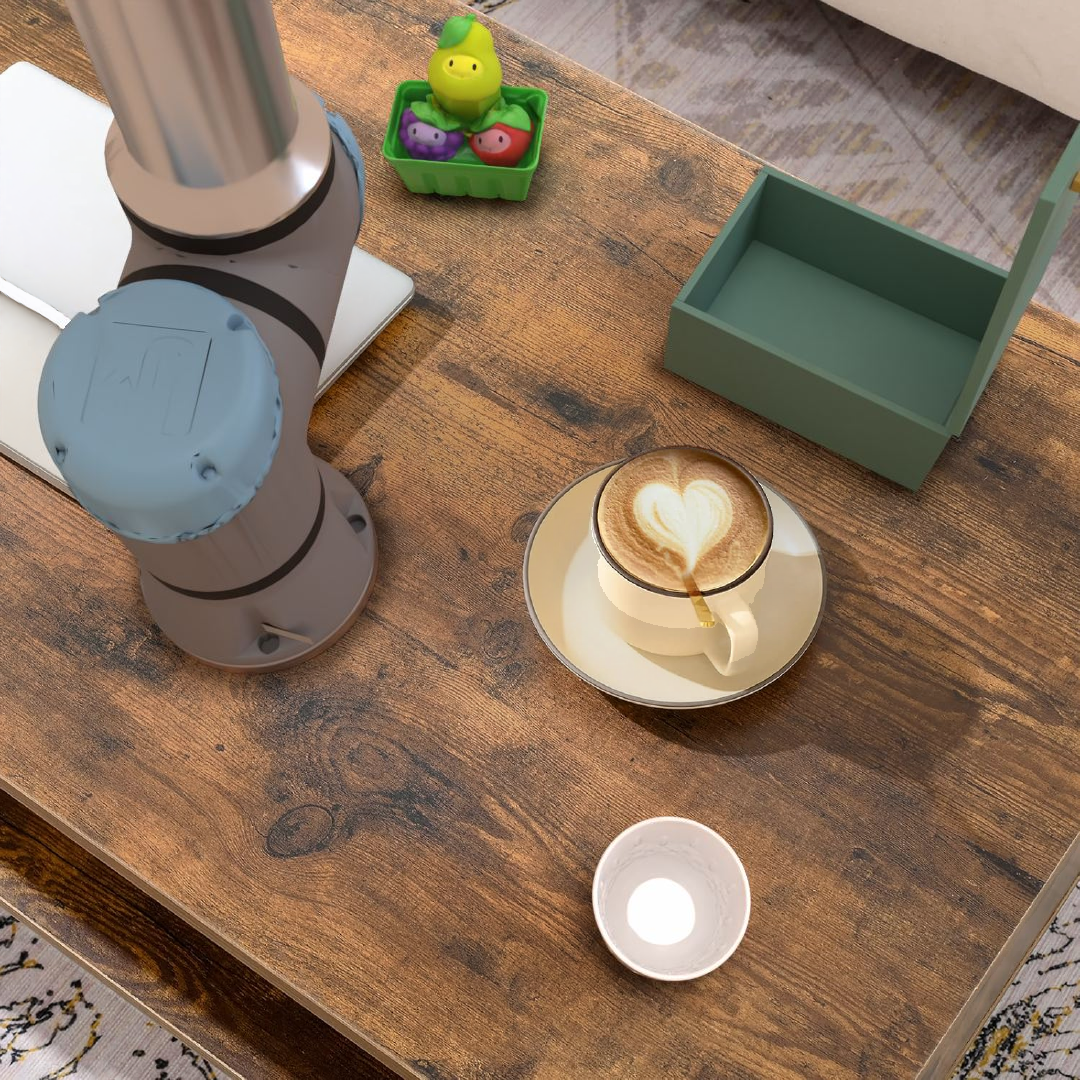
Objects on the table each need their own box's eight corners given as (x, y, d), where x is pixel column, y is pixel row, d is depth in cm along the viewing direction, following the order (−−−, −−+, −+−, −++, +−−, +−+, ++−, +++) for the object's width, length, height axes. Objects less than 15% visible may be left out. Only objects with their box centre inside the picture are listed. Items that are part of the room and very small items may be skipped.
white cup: (562, 902, 67) (560, 881, 58) (667, 818, 69) (680, 785, 60) (649, 1018, 65) (661, 1015, 56) (755, 928, 67) (783, 911, 57)
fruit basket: (389, 205, 88) (364, 93, 77) (409, 115, 91) (388, -4, 81) (538, 217, 87) (533, 106, 77) (553, 126, 90) (550, 8, 80)
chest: (662, 367, 81) (670, 304, 74) (749, 235, 86) (764, 164, 79) (916, 492, 77) (949, 438, 70) (993, 346, 81) (1032, 281, 74)
